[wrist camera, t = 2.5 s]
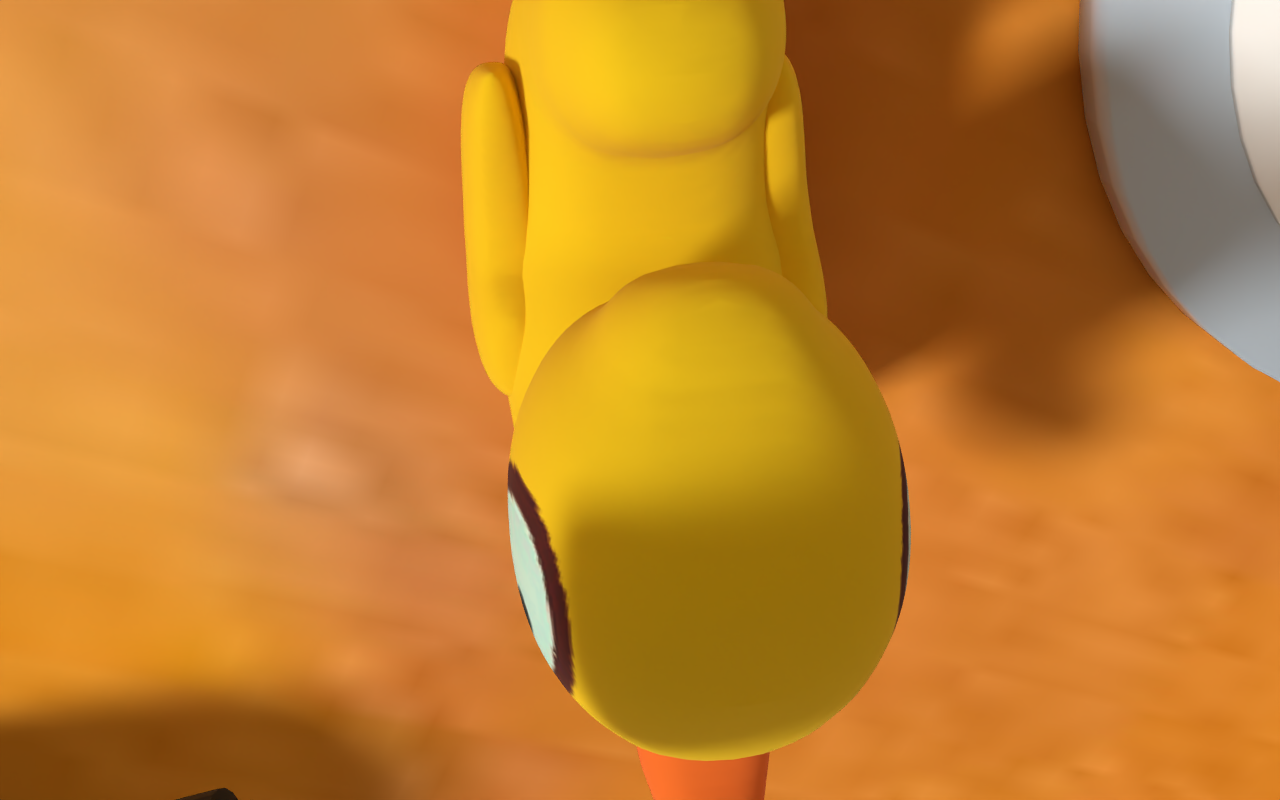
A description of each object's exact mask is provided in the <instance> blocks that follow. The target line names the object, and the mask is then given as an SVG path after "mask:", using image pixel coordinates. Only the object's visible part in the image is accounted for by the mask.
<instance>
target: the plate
mask: <svg viewBox="0 0 1280 800" xmlns="http://www.w3.org/2000/svg"><path fill="white" fill-rule="evenodd" d="M1078 53H1079V63H1080V73H1081V83H1082V93H1083V103H1084V113H1085V120H1086V124H1087V128H1088V132H1089V136H1090V140H1091V144H1092V149H1093V153H1094V157H1095V161H1096V165H1097V169H1098V173H1099V177H1100V180H1101V182H1102V185H1103V187H1104V190H1105V192H1106V194H1107V197H1108V199H1109V202H1110V204H1111V207H1112V209H1113V211H1114V214H1115V216H1116V219H1117V221H1118V224H1119V226H1120V228H1121V231H1122V232H1123V234H1124V236H1125V237H1126V239H1127V240H1128V242H1129V244H1130V245H1131V247H1132V248H1133V250H1134V252H1135V253H1136V255H1137V257H1138V258H1139V260H1140V261H1141V263H1142V265H1143V266H1144V268H1145V269H1146V271H1147V273H1148V274H1149V276H1150V277H1151V278H1152V279H1153V280H1154V281H1155V283H1156V284H1157V285H1158V286H1159V287H1160V288H1161V289H1162V290H1163V292H1164V293H1165V294H1166V295H1167V296H1168V297H1169V298H1170V299H1171V301H1172V302H1173V303H1174V304H1175V305H1176V306H1177V307H1178V308H1179V310H1180V311H1181V312H1182V313H1183V314H1184V315H1186V316H1187V317H1188V318H1189V319H1191V320H1192V321H1193V322H1194V323H1196V324H1197V325H1198V326H1199V327H1201V328H1202V329H1203V330H1204V331H1206V332H1207V333H1208V334H1210V335H1211V336H1212V337H1213V338H1215V339H1216V340H1217V341H1218V342H1220V343H1221V344H1222V345H1224V346H1225V347H1226V348H1228V349H1229V350H1230V351H1232V352H1233V353H1234V354H1236V355H1237V356H1238V357H1240V358H1241V359H1242V360H1244V361H1245V362H1246V363H1248V364H1249V365H1250V366H1252V367H1253V368H1255V369H1257V370H1259V371H1261V372H1263V373H1264V374H1266V375H1268V376H1270V377H1272V378H1274V379H1276V380H1277V381H1279V382H1280V0H1080V9H1079V44H1078Z"/></svg>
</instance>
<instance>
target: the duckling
mask: <svg viewBox="0 0 1280 800" xmlns="http://www.w3.org/2000/svg"><path fill="white" fill-rule="evenodd" d="M785 47H786V16H785V8H784V1H783V0H513V1H512V5H511V9H510V14H509V19H508V25H507V32H506V42H505V58H504V64H503V63H499V62H488V63H483V64H480V65H478V66H477V67H476V68H475V69H474V70H473V71H472V72H471V74H470V76H469V78H468V80H467V83H466V86H465V90H464V95H463V103H462V116H461V163H462V186H463V212H464V232H465V246H466V262H467V280H468V292H469V303H470V311H471V319H472V325H473V331H474V336H475V340H476V344H477V347H478V351H479V354H480V358H481V361H482V363H483V366H484V368H485V371H486V373H487V375H488V376H489V378H490V380H491V381H492V383H493V384H494V385H495V386H496V387H497V388H498V389H499V390H500V391H501V392H502V393H504V394H506V395H508V399H509V403H510V408H511V414H512V420H513V425H514V433H513V438H512V443H511V450H510V458H509V469H508V513H509V528H510V540H511V550H512V556H513V562H514V568H515V574H516V579H517V584H518V588H519V592H520V596H521V600H522V604H523V607H524V610H525V613H526V616H527V619H528V622H529V625H530V627H531V630H532V632H533V635H534V637H535V639H536V641H537V643H538V645H539V647H540V649H541V651H542V653H543V655H544V657H545V659H546V660H547V662H548V664H549V665H550V667H551V669H552V670H553V672H554V673H555V674H556V676H557V677H558V679H559V680H560V681H561V683H562V684H563V685H564V687H565V688H566V689H567V691H568V692H569V693H570V694H571V695H572V697H573V698H574V699H575V700H576V701H577V702H578V703H579V704H580V705H581V706H582V707H583V708H584V709H585V710H586V711H587V712H588V713H589V714H590V715H591V716H592V717H593V718H595V719H596V720H597V721H598V722H600V723H601V724H602V725H604V726H605V727H606V728H608V729H609V730H611V731H612V732H614V733H615V734H617V735H619V736H620V737H622V738H623V739H625V740H627V741H628V742H630V743H632V744H634V745H636V746H637V750H638V755H639V759H640V762H641V766H642V769H643V771H644V774H645V777H646V780H647V783H648V786H649V788H650V791H651V793H652V796H653V799H654V800H764V795H765V786H766V777H767V770H768V761H769V753H770V751H773V750H776V749H779V748H781V747H784V746H786V745H789V744H791V743H793V742H795V741H797V740H799V739H801V738H803V737H805V736H807V735H809V734H810V733H812V732H813V731H815V730H816V729H818V728H819V727H821V726H822V725H823V724H824V723H826V722H827V721H828V720H829V719H831V718H832V717H833V716H834V715H835V714H837V713H838V712H839V711H840V710H841V709H842V708H844V707H845V706H846V705H847V704H848V703H849V702H850V701H851V700H852V699H853V698H854V696H855V695H856V694H857V693H858V692H859V691H860V689H861V688H862V687H863V686H864V684H865V683H866V681H867V680H868V678H869V677H870V676H871V674H872V673H873V671H874V669H875V668H876V666H877V664H878V663H879V661H880V659H881V657H882V655H883V653H884V651H885V649H886V647H887V645H888V643H889V641H890V639H891V637H892V634H893V632H894V629H895V627H896V624H897V621H898V618H899V615H900V611H901V608H902V604H903V600H904V596H905V591H906V585H907V579H908V572H909V562H910V545H911V525H910V507H909V495H908V487H907V479H906V473H905V468H904V462H903V458H902V453H901V449H900V445H899V441H898V437H897V434H896V430H895V427H894V424H893V421H892V418H891V415H890V413H889V410H888V408H887V405H886V403H885V401H884V398H883V396H882V394H881V392H880V390H879V388H878V386H877V384H876V382H875V380H874V378H873V376H872V374H871V372H870V371H869V369H868V367H867V366H866V364H865V362H864V361H863V359H862V358H861V356H860V355H859V353H858V352H857V350H856V349H855V348H854V346H853V345H852V344H851V343H850V341H849V340H848V339H847V338H846V337H845V335H844V334H843V333H842V332H841V331H840V330H839V329H838V328H837V327H836V326H835V325H834V324H833V323H832V322H831V321H830V320H829V319H827V299H826V291H825V284H824V277H823V271H822V266H821V262H820V257H819V253H818V248H817V243H816V239H815V234H814V229H813V223H812V216H811V210H810V202H809V195H808V187H807V176H806V158H805V138H804V123H803V111H802V102H801V95H800V90H799V85H798V81H797V78H796V74H795V71H794V69H793V66H792V64H791V62H790V60H789V59H788V57H787V56H786V55H785Z"/></svg>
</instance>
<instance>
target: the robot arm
mask: <svg viewBox="0 0 1280 800" xmlns="http://www.w3.org/2000/svg"><path fill="white" fill-rule="evenodd" d="M176 800H238V799H237V798H236V796H235V795H234V794H233V792H231V791H229V790H228V789H226V788H221V789H215V790H211V791H208V792H204V793H200V794H196V795H192V796H188V797H184V798H180V799H176Z"/></svg>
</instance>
